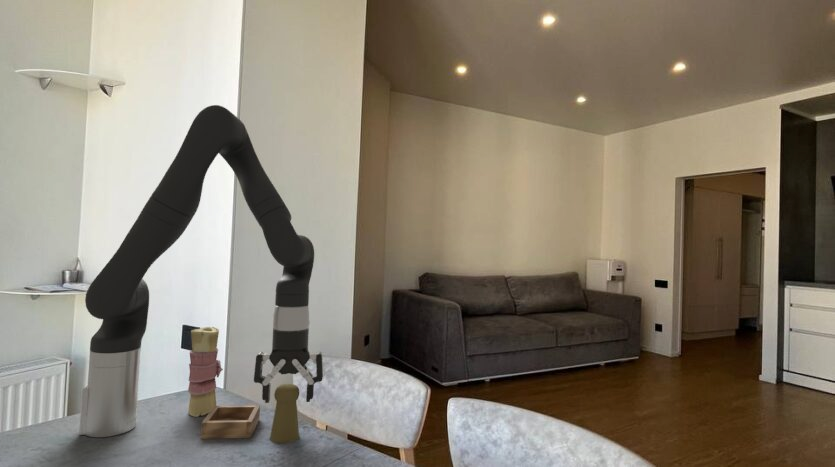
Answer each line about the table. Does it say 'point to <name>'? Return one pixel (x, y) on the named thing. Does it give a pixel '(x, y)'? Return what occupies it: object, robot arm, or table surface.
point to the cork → (285, 414)
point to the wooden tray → (230, 422)
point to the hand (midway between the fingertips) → (288, 401)
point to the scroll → (203, 370)
